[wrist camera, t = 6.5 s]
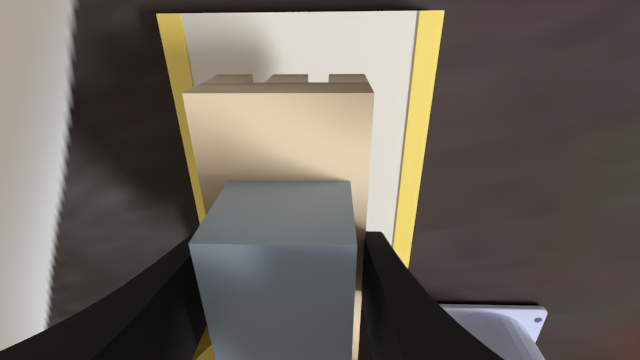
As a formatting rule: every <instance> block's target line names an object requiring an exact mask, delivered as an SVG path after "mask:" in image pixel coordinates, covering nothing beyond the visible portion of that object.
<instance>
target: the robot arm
mask: <svg viewBox="0 0 640 360" xmlns="http://www.w3.org/2000/svg"><path fill="white" fill-rule="evenodd" d="M195 232H196V231H195ZM195 232H194V233H193V234H191V235H190V236H189V237H187V238H186V239H185V240H183V241H182V242H181V243H180V244H178V245H177V246H176V247H175V248H173V249H172V250H171V251H169V252H168V253H167V254H166V255H164V256H163V257H162V258H160V259H159V260H158V261H156V262H155V263H154V264H153V265H151V266H150V267H148V268H147V269H146V270H144V271H143V272H141V273H140V274H139V275H137V276H136V277H134V278H133V279H131V280H130V281H129V282H127V283H126V284H124V285H123V286H121V287H120V288H118V289H117V290H115V291H114V292H112V293H111V294H109V295H107V296H106V297H104V298H103V299H101V300H99V301H98V302H96V303H94V304H93V305H91V306H89V307H87V308H86V309H84V310H82V311H80V312H79V313H77V314H75V315H73V316H71V317H69V318H67V319H65V320H63V321H62V322H60V323H58V324H56V325H54V326H52V327H50V328H48V329H47V330H45V331H42V332H40V333H39V334H36V335H34V336H32V337H30V338H28V339H26V340H24V341H22V342H20V343H17V344H15V345H13V346H11V347H9V348H6V349H4V350H2V351H0V360H192V359H193V356H194V354H195V352H196V349H197V347H198V345H199V342H200V340H201V338H202V335H203V333H204V331H205V328H206V326H207V321H206V317H205V313H204V309H203V304H202V300H201V296H200V291H199V287H198V283H197V279H196V274H195V270H194V266H193V261H192V257H191V253H190V249H189V244H188V243H189V242H190V240H191V239H192V237H193V235H194V234H195ZM361 294H362V306H363V312H364V317H365V323H366V328H367V334H368V339H369V345H370V350H371V356H372V360H545V359H544V357H543V355H542V354H541V352H540V350H539V349H538V347H537V346H536V344H535V342H536V340H537V337H538V335H539V333H540V330H541V328H542V326H543V323H544V321H545V318H546V316H547V311H546V310H545V308H544V307H542V306H518V305H466V304H438V303H437V302H436V301H435V300H434V299H433V298H432V297H431V295H430V294H429V293H428V292H427V291H426V290H425V289H424V288H423V287H422V285H421V284H420V283H419V282H418V281H417V280H416V278H415V277H414V276H413V275H412V273H411V272H410V271H409V270H408V268H407V267H406V266H405V264H404V263H403V262H402V260H401V259H400V258H399V256H398V255H397V254H396V252H395V251H394V249H393V248H392V246H391V245H390V243H389V242H388V240H387V238H386V237H385V235H384V234H383V233H382V232H380V231H366V236H365V239H364V256H363V272H362V288H361Z"/></svg>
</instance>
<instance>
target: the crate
mask: <svg viewBox="0 0 640 360" xmlns="http://www.w3.org/2000/svg"><path fill="white" fill-rule="evenodd" d="M188 244H189V249H190V253H191V257H192V261H193V266H194V270H195V274H196V279H197V283H198V287H199V291H200V296H201V300H202V304H203V309H204V313H205V317H206V321H207V326H208V330H209V334H210V338H211V343H212V347H213V351H214V356H215V360H352V345H353V324H354V302H355V281H356V260H357V239H356V230H355V220H354V211H353V201H352V192H351V182H350V181H227V183H226V184H225V186H224V188H223V189H222V191H221V192H220V194H219V196H218V197H217V199H216V200H215V202H214V204H213V205H212V207H211V208H210V210H209V212H208V213H207V215H206V216H205V218H204V220H203V221H202V223H201V224H200V226H199V228H198V229H197V231H196V232H195V234H194V235H193V237H192V239H191V240H190V242H189V243H188Z"/></svg>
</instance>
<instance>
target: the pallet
mask: <svg viewBox="0 0 640 360" xmlns="http://www.w3.org/2000/svg"><path fill="white" fill-rule="evenodd" d="M182 96H183V101H184V106H185V111H186V116H187V121H188V127H189V132H190V137H191V142H192V147H193V153H194V158H195V163H196V168H197V173H198V178H199V184H200V189H201V194H202V199H203V204H204V210H205V215H207V213H208V212H209V210H210V208H211V207H212V205H213V204H214V202H215V200H216V199H217V197H218V196H219V194H220V192H221V191H222V189H223V188H224V186H225V184H226V183H227V181H350V182H351V192H352V201H353V211H354V220H355V230H356V239H357V260H356V281H355V302H354V324H353V345H352V360H358V348H359V332H360V316H361V300H362V294H361V288H362V272H363V256H364V239H365V236H366V220H367V205H368V189H369V173H370V157H371V141H372V125H373V109H374V91H373V89H372V87H371V85H370V83H369V82H368V80H367V78H366V76H365V74H329V79H328V82H308V74H273V75H272V76H271V77H270V78H269V79H268V80H267V81H266V82H265V83H253V75H252V74H231V75H216V76H214V77H212V78H210V79H208V80H206V81H205V82H203V83H201V84H199V85H197V86H195V87H193V88H191V89H190V90H188V91H186V92H184V93H182Z"/></svg>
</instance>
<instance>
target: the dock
mask: <svg viewBox="0 0 640 360" xmlns="http://www.w3.org/2000/svg"><path fill="white" fill-rule="evenodd" d="M444 11H445V10H435V11H345V12H256V13H170V14H156V15H157V20H158V25H159V30H160V35H161V39H162V44H163V49H164V54H165V59H166V64H167V68H168V73H169V78H170V83H171V88H172V92H173V97H174V102H175V107H176V112H177V116H178V121H179V126H180V131H181V136H182V140H183V145H184V150H185V155H186V160H187V165H188V169H189V174H190V179H191V184H192V189H193V193H194V198H195V203H196V208H197V213H198V217H199V222H200V224H201V223H202V221H203V220H204V218H205V216H206V215H205V210H204V204H203V199H202V194H201V189H200V184H199V178H198V173H197V168H196V163H195V158H194V153H193V147H192V142H191V137H190V132H189V127H188V121H187V116H186V111H185V106H184V101H183V96H182V93H184V92H186V91H188V90H190V89H191V88H193V87H195V86H197V85H199V84H201V83H203V82H205V81H206V80H208V79H210V78H212V77H214V76H216V75H231V74H252V75H253V83H265V82H266V81H267V80H268V79H269V78H270V77H271V76H272V75H273V74H308V82H328V79H329V74H365V76H366V78H367V80H368V82H369V83H370V85H371V87H372V89H373V91H374V109H373V125H372V141H371V157H370V173H369V189H368V205H367V220H366V231H380V232H382V233H383V234H384V235H385V237H386V238H387V240H388V242H389V243H390V245H391V246H392V248H393V249H394V251H395V252H396V254H397V255H398V256H399V258H400V259H401V260H402V262H403V263H404V264H405V266H406V267H407V268H408V265H409V258H410V251H411V244H412V237H413V230H414V223H415V216H416V208H417V201H418V194H419V187H420V180H421V173H422V166H423V159H424V152H425V145H426V138H427V131H428V124H429V117H430V110H431V102H432V95H433V88H434V81H435V74H436V67H437V60H438V53H439V46H440V39H441V32H442V25H443V18H444Z"/></svg>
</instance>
